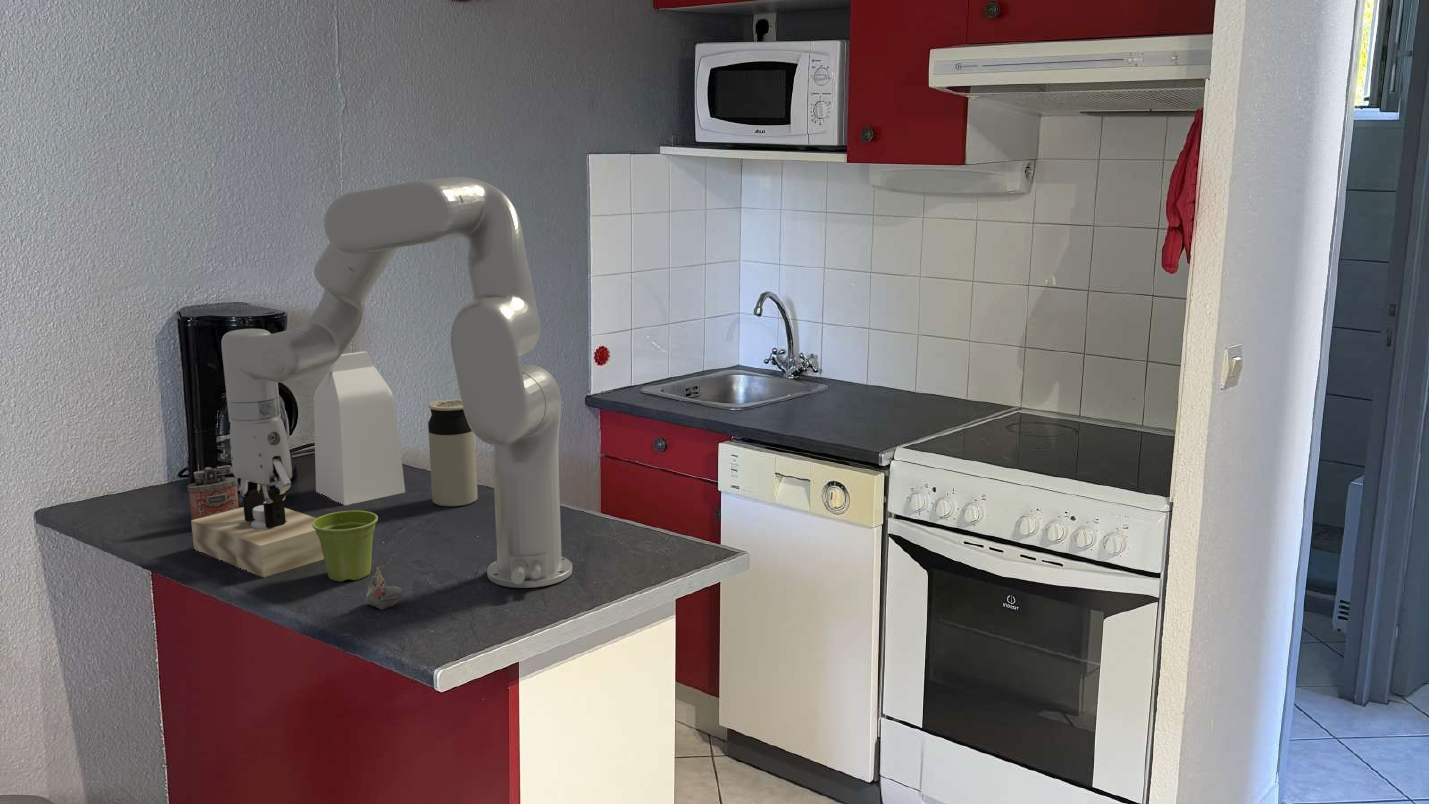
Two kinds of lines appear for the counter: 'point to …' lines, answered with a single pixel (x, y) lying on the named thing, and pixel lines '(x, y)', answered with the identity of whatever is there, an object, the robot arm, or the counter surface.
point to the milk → (356, 433)
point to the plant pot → (346, 543)
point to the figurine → (383, 593)
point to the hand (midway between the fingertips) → (265, 521)
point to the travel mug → (451, 455)
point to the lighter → (212, 492)
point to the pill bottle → (258, 518)
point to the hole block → (258, 542)
